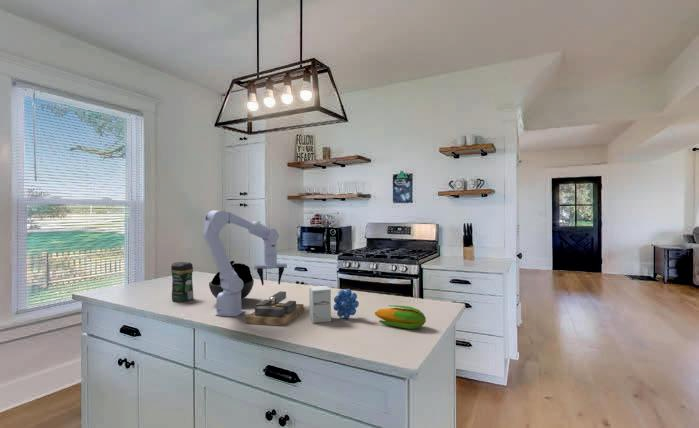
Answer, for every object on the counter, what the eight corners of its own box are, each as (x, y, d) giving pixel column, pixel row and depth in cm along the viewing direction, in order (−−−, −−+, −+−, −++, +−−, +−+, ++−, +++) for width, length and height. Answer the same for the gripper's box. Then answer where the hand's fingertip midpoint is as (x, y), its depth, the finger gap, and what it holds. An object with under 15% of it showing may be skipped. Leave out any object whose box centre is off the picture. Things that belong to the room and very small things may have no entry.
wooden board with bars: (246, 323, 132) (245, 308, 132) (269, 308, 152) (269, 295, 152) (284, 325, 129) (284, 311, 129) (303, 310, 148) (303, 297, 148)
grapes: (364, 317, 136) (363, 287, 136) (355, 322, 131) (355, 291, 131) (339, 313, 143) (339, 284, 142) (330, 318, 137) (330, 288, 137)
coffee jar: (168, 300, 167) (167, 262, 167) (182, 296, 174) (181, 260, 174) (183, 302, 163) (182, 263, 163) (196, 298, 170) (195, 261, 170)
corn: (422, 311, 119) (370, 304, 129) (422, 333, 119) (369, 324, 128) (428, 307, 125) (378, 300, 135) (428, 328, 125) (377, 320, 135)
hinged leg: (274, 305, 147) (274, 298, 147) (268, 305, 147) (268, 297, 147) (286, 298, 159) (286, 291, 158) (280, 298, 159) (279, 291, 159)
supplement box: (312, 323, 130) (311, 290, 130) (309, 317, 138) (308, 286, 137) (331, 321, 132) (331, 289, 132) (327, 316, 140) (327, 285, 139)
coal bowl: (242, 309, 151) (241, 266, 151) (200, 307, 154) (199, 265, 154) (260, 297, 171) (260, 259, 171) (223, 296, 174) (222, 259, 174)
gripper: (253, 256, 151) (253, 287, 151) (286, 255, 154) (287, 285, 154) (254, 254, 158) (254, 283, 158) (286, 253, 161) (286, 282, 161)
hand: (270, 284), depth 157 cm, fingers open, 7 cm apart
